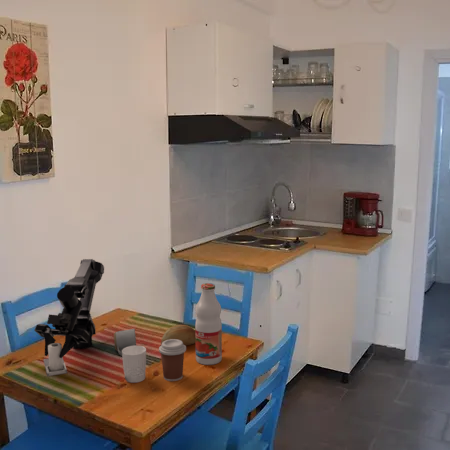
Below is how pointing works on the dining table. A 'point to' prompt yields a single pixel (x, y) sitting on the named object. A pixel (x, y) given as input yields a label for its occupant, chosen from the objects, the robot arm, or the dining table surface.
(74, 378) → the dining table surface
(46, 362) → the power strip
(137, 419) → the dining table surface
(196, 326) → the fruit juice
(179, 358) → the coffee cup
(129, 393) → the dining table surface
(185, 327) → the bread roll
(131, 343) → the ceramic mug
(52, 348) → the cream cylinder
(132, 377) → the white cup
